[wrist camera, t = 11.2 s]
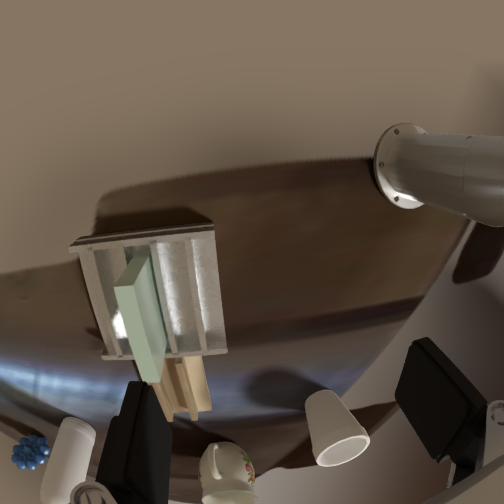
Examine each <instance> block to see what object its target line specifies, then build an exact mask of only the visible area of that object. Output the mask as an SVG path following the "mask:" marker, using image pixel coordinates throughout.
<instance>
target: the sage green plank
mask: <svg viewBox="0 0 504 504" xmlns="http://www.w3.org/2000/svg"><path fill="white" fill-rule="evenodd" d="M114 291H115V295H116V299H117V302H118V306H119V310H120V313H121V317H122V320H123V324H124V327H125V330H126V333H127V337H128V340H129V343H130V346H131V349H132V352H133V355H134V358H135V361H136V364H137V366H138V369H139V372H140V375H141V377H142V380H143V381H146V382H147V383H158V382H161V375H162V368H163V362H164V355H165V349H166V343H167V337H168V334H167V330H166V326H165V321H164V317H163V312H162V307H161V303H160V298H159V293H158V288H157V283H156V278H155V272H154V267H153V261H152V255H151V251H143V252H136V253H135V255H134V256H133V258H132V259H131V261H130V262H129V264H128V265H127V267H126V268H125V270H124V271H123V273H122V274H121V276H120V278H119V279H118V281H117V282H116V284H115V285H114Z"/></svg>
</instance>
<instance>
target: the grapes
mask: <svg viewBox="0 0 504 504" xmlns="http://www.w3.org/2000/svg"><path fill="white" fill-rule="evenodd" d="M19 443H20V445H21V446H20V445H15V446H14V447H13V452H14V454H13V455H12V461H13V462H14V463H16V464H17V467H18V468H19V469H21V470H24V469H26V468H28V469H29V470H35V469H36V468H37V463H38V464H44V463H45V461H46V456H45V455H47V454H49V453H50V447H49V446H48V445H47V439H46V438H44V437H38V436H37V435H34V434H33V435H30V437H29V439H28V438H21V439H20V442H19Z"/></svg>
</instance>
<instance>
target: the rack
mask: <svg viewBox="0 0 504 504" xmlns="http://www.w3.org/2000/svg"><path fill="white" fill-rule="evenodd" d="M68 249H69V253H76V252H78V253H79V257H80V261H81V266H82V270H83V274H84V278H85V281H86V285H87V289H88V292H89V296H90V299H91V303H92V306H93V309H94V313H95V316H96V319H97V322H98V325H99V328H100V331H101V334H102V337H103V340H104V342H105V345H106V346H105V348H104V350H103V353H102V355H101V356H102V359H103V360H135V358H134V355H133V352H132V349H131V346H130V343H129V340H128V337H127V333H126V330H125V327H124V324H123V320H122V317H121V313H120V310H119V306H118V302H117V299H116V295H115V291H114V285H115V284H116V282H117V281H118V279H119V278H120V276H121V274H122V273H123V271H124V270H125V268H126V267H127V265H128V264H129V262H130V261H131V259H132V258H133V256H134V255H135V253H136V252H143V251H151V255H152V261H153V267H154V272H155V278H156V283H157V288H158V293H159V298H160V303H161V307H162V312H163V317H164V321H165V326H166V330H167V334H168V337H167V343H166V349H165V355H164V358H177V357H191V356H203V355H214V354H224V353H228V352H227V344H226V336H225V328H224V320H223V311H222V302H221V293H220V284H219V275H218V265H217V255H216V245H215V234H214V223H213V222H204V223H194V224H184V225H174V226H165V227H156V228H147V229H139V230H130V231H122V232H114V233H106V234H99V235H91V236H84V237H80V238H78V239H77V240H76V241H75V242H74V243H73V244H71V245H70V246H69V247H68Z"/></svg>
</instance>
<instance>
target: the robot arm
mask: <svg viewBox="0 0 504 504" xmlns="http://www.w3.org/2000/svg"><path fill="white" fill-rule="evenodd" d="M373 167H374V175H375V179H376V182H377V185H378V187H379V189H380V191H381V192H382V194H383V195H384V197H385V198H386V199H387V200H388V201H389V202H391V203H392V204H394V205H396V206H398V207H401V208H405V209H413V208H417V207H419V206H421V205H423V204H427V205H430V206H434V207H437V208H440V209H443V210H446V211H449V212H452V213H455V214H457V215H460V216H463V217H466V218H469V219H472V220H474V221H477V222H480V223H483V224H486V225H489V226H493V227H501V226H504V137H497V136H480V135H461V134H428V133H427V132H426V131H425V130H423V129H422V128H421V127H419V126H417V125H414V124H409V123H404V124H397V125H394V126H392V127H390V128H389V129H387V130H386V131H385V132H384V133H383V135H382V136H381V138H380V139H379V141H378V143H377V146H376V149H375V153H374V164H373ZM395 399H396V401H397V403H398V404H399V406H400V408H401V409H402V411H403V412H404V414H405V415H406V417H407V418H408V420H409V422H410V423H411V425H412V427H413V428H414V430H415V431H416V433H417V435H418V436H419V438H420V440H421V441H422V443H423V445H424V446H425V448H426V449H427V451H428V453H429V455H430V456H431V457H432V458H433V459H436V461H437V462H438V464H439V463H441V462H443V461H444V460H446V459H448V458H449V457H450V458H451V460H452V466H451V470H450V475H449V479H448V484H447V487H446V490H445V491H443V492H442V493H440V494H438V495H436V496H434V497H432V498H431V499H429V500H427V501H425V502H423V503H421V504H504V401H503V400H497V401H494V402H492V403H491V404H490V405H489V406H488V407H487V405H486V404H487V401H486V399H485V398H484V397H483V396H482V395H481V394H480V393H479V391H478V390H477V389H476V388H475V387H474V386H473V384H472V383H471V382H470V381H469V380H468V379H467V378H466V377H465V376H464V374H463V373H462V372H461V371H460V370H459V369H458V368H457V367H456V366H455V365H454V364H453V363H452V361H451V360H450V359H449V358H448V357H447V356H446V355H445V354H444V353H443V352H442V351H441V350H440V349H439V348H438V347H437V346H436V345H435V344H434V342H433V341H431V339H430V338H428V337H425V338H421V339H418V340H415V341H413V342H412V345H411V346H410V347H409V350H408V353H407V357H406V360H405V364H404V367H403V370H402V373H401V376H400V380H399V382H398V386H397V388H396V391H395ZM172 438H173V436H172V430H171V428H170V426H169V423H168V421H167V419H166V417H165V414H164V412H163V410H162V407H161V405H160V403H159V400H158V398H157V395H156V393H155V390H154V388H153V386H152V385H148V383H147V382H146V381H130V382H129V384H128V386H127V390H126V393H125V397H124V400H123V403H122V407H121V410H120V414H119V416H114V417H113V418H112V420H111V422H110V426H109V429H108V433H107V437H106V440H105V444H104V448H103V452H102V455H101V459H100V463H99V467H98V472H97V476H96V480H95V482H94V481H85V482H81V483H79V484H78V485H76V486H75V487H74V488H73V490H72V491H71V494H70V503H68V504H168V493H169V477H170V463H171V450H172Z"/></svg>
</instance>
